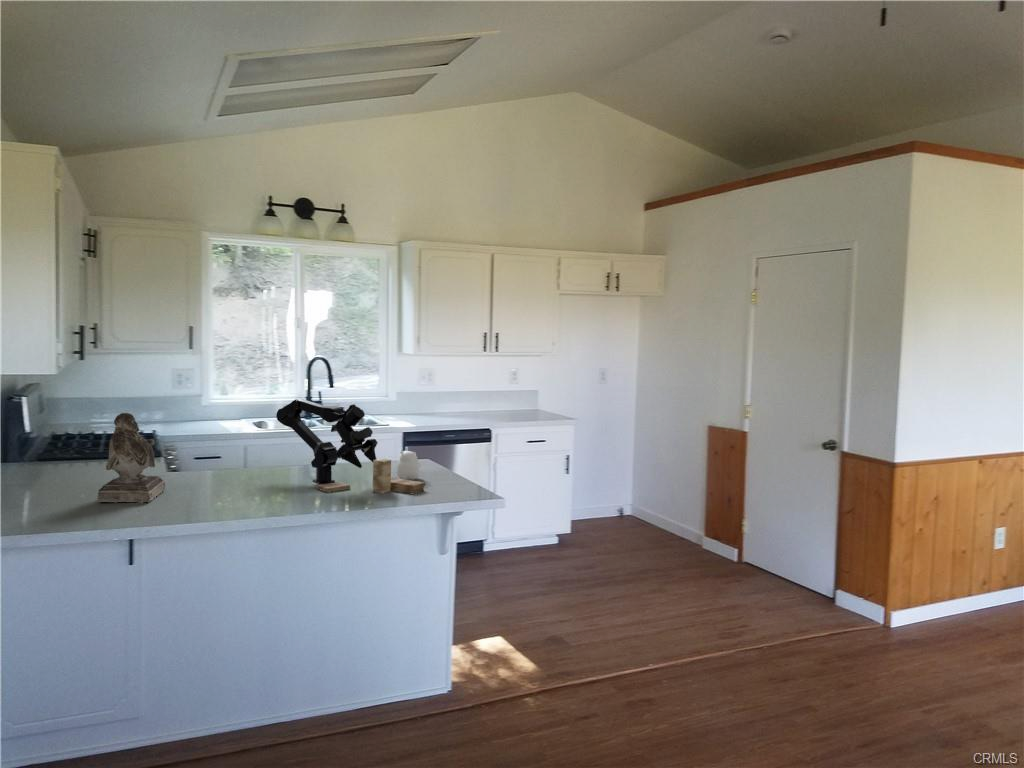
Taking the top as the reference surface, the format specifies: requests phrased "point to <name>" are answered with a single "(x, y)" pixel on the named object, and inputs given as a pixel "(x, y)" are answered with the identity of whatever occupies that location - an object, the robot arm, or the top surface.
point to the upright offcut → (381, 475)
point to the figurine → (408, 466)
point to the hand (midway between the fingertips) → (368, 465)
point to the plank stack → (406, 485)
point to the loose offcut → (333, 486)
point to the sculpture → (130, 465)
